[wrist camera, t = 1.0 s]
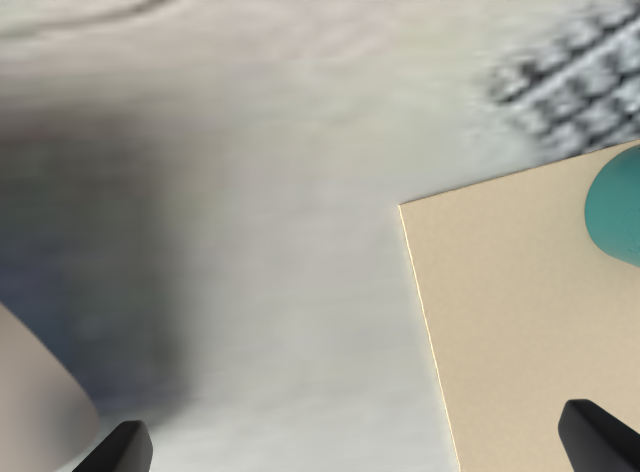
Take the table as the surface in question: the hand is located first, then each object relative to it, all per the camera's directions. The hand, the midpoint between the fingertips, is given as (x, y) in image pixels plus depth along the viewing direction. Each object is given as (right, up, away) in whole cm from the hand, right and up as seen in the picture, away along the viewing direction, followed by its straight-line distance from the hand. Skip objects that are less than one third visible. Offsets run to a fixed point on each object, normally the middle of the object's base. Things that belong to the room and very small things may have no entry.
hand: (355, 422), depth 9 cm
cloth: (+15, -2, +15) cm, 21 cm away
